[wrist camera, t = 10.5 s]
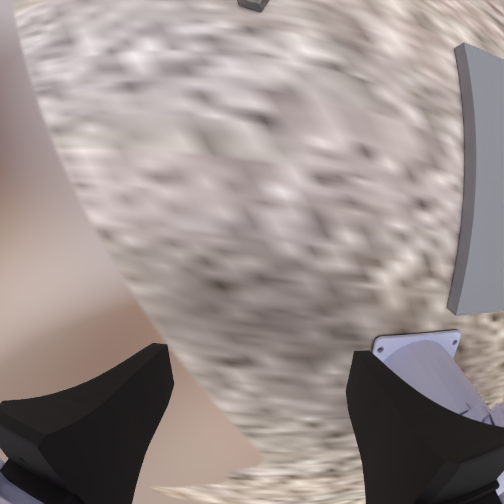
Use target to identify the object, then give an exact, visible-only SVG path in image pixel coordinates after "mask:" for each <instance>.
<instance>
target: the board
mask: <svg viewBox="0 0 504 504" xmlns="http://www.w3.org/2000/svg"><path fill="white" fill-rule="evenodd" d="M454 49H455V54H456V60H457V66H458V72H459V79H460V87H461V96H462V106H463V119H464V140H465V176H464V197H463V211H462V222H461V231H460V239H459V246H458V253H457V259H456V265H455V271H454V276H453V281H452V286H451V291H450V296H449V300H448V304H447V308H448V309H449V310H450V311H451V312H452V313H453V314H454V315H455V316H459V315H469V314H479V313H488V312H496V311H504V60H503V59H501V58H499V57H497V56H495V55H493V54H490V53H488V52H486V51H484V50H481V49H479V48H477V47H474V46H472V45H469V44H467V43H462V44H461V45H459V46H457V47H456V48H454Z"/></svg>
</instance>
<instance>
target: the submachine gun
mask: <svg viewBox="0 0 504 504" xmlns="http://www.w3.org/2000/svg"><path fill="white" fill-rule="evenodd" d="M237 1H238V4H239V6H242V7H245V8H249V9H252V10H255V11H258V12H262V10H263V9H264V7H265V6H266V4H267V3H268V1H269V0H237Z"/></svg>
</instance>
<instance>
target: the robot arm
mask: <svg viewBox="0 0 504 504" xmlns="http://www.w3.org/2000/svg"><path fill="white" fill-rule="evenodd" d="M460 337H461V333H460V332H459V331H458V330H452V331H442V332H432V333H421V334H409V335H394V336H381V337H378V338H377V339H376V340H375V342H374V347H373V351H372V352H370V351H369V350H367V351H354V355H353V360H352V365H351V370H350V374H349V379H348V383H347V388H346V396H347V404H348V411H349V415H350V419H351V422H352V426H353V430H354V433H355V437H356V441H357V444H358V448H359V452H360V455H361V460H362V466H363V474H364V483H365V495H366V504H504V404H502V405H501V404H496V405H495V406H494V407H493V408H492V409H491V410H490V409H489V407H488V406H487V404H486V403H485V401H484V400H483V399H482V397H481V396H480V394H479V393H478V392H477V390H476V389H475V388H474V386H473V385H472V383H471V382H470V381H469V379H468V378H467V377H466V375H465V374H464V373H463V371H462V370H461V369H460V368H459V366H458V365H457V364H456V362H455V361H454V360H453V358H454V355H455V352H456V349H457V346H458V343H459V340H460ZM454 340H455V341H454ZM453 341H454V342H453ZM380 347H382V349H380V350H378V348H380ZM173 386H174V380H173V375H172V369H171V364H170V358H169V352H168V346H167V345H166V344H157V343H152V344H151V345H149V346H147V347H146V348H144V349H142V350H141V351H139V352H138V353H136V354H135V355H133V356H132V357H130V358H129V359H127V360H125V361H124V362H122V363H120V364H119V365H117V366H116V367H114V368H112V369H110V370H109V371H107V372H105V373H103V374H101V375H100V376H98V377H96V378H94V379H91V380H89V381H87V382H85V383H82V384H80V385H78V386H75V387H72V388H69V389H67V390H63V391H60V392H57V393H54V394H50V395H46V396H41V397H35V398H30V399H21V400H9V401H2V402H1V403H0V448H1V449H2V451H3V452H4V453H5V455H6V456H7V457H8V458H9V459H8V460H7V462H6V463H4V462H3V461H2V460H1V459H0V504H132V501H133V496H134V492H135V488H136V484H137V480H138V476H139V473H140V469H141V466H142V463H143V460H144V456H145V454H146V451H147V449H148V446H149V444H150V442H151V440H152V437H153V435H154V433H155V431H156V429H157V427H158V425H159V423H160V421H161V419H162V416H163V414H164V412H165V410H166V408H167V406H168V403H169V400H170V397H171V393H172V390H173Z"/></svg>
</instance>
